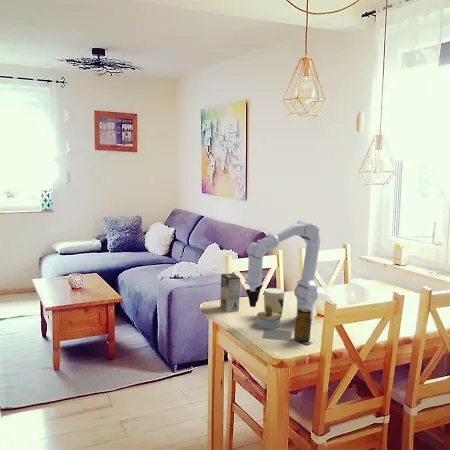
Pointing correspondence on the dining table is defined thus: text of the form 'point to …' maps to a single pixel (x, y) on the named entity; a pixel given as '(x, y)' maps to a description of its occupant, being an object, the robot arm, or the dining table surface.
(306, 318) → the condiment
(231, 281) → the coffee box
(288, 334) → the mat
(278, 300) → the coffee cup
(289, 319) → the dining table surface
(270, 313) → the lid
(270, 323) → the bowl
